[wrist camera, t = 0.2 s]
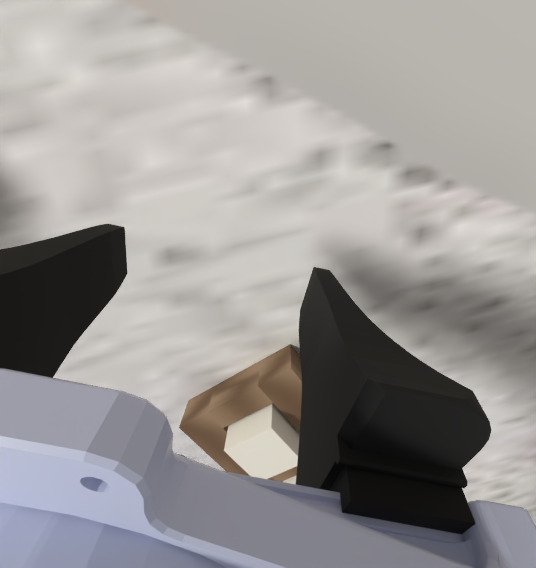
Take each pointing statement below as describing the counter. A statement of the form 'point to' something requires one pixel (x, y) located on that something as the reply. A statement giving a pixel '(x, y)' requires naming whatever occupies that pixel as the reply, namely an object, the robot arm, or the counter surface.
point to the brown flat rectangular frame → (245, 405)
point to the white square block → (263, 443)
